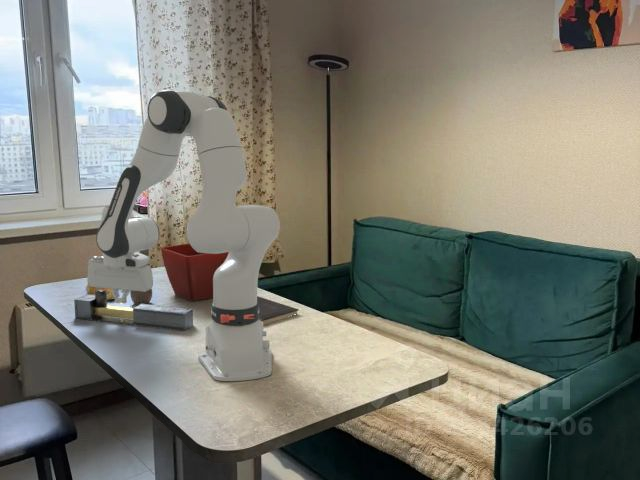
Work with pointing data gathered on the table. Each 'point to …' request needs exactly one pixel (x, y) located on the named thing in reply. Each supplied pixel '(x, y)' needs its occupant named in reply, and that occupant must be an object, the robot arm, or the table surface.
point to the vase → (141, 296)
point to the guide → (139, 315)
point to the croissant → (92, 289)
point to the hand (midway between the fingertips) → (120, 302)
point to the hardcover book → (273, 310)
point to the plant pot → (191, 270)
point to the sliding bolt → (109, 307)
